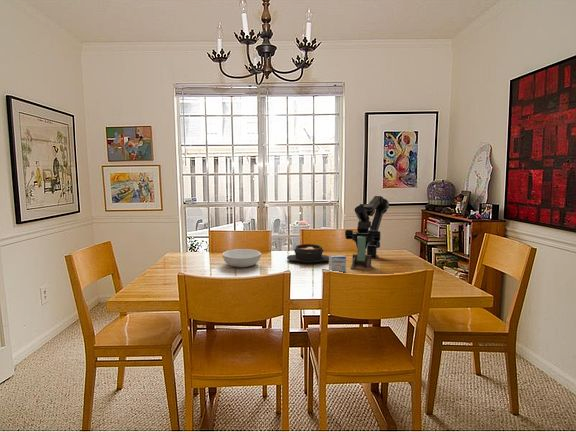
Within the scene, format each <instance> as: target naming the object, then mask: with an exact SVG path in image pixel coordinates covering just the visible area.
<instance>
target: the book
mask: <svg viewBox="0 0 576 432" xmlns="http://www.w3.org/2000/svg"><path fill="white" fill-rule="evenodd" d="M357 238H358V245H357V247H356V249H357V251H356V253H357V261H365V259H366V255H367V248H366V249H365V245H366V236H358V237H357Z"/></svg>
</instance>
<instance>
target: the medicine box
mask: <svg viewBox="0 0 576 432" xmlns="http://www.w3.org/2000/svg"><path fill="white" fill-rule="evenodd" d="M328 256H329V260H328V271H329V270H332V271H339V272H347V256H346V255H344V254H338V255H337V254H335V255H333V254H332V255H328Z"/></svg>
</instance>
